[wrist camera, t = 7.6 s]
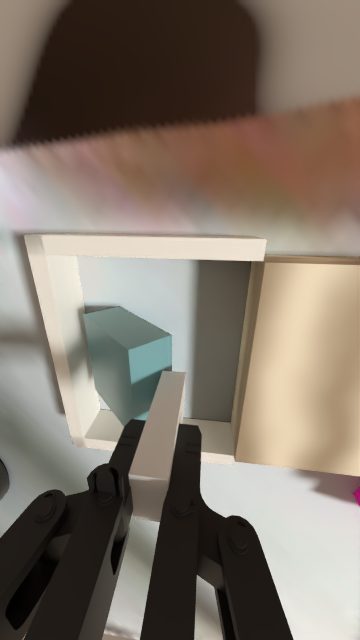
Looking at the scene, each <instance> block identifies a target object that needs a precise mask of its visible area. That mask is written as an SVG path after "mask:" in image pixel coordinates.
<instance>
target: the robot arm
mask: <svg viewBox="0 0 360 640" xmlns="http://www.w3.org/2000/svg"><path fill="white" fill-rule="evenodd" d="M185 383H186V373H185V372H173V371H162V374H161V377H160V380H159V383H158V386H157V389H156V392H155V395H154V398H153V401H152V404H151V407H150V410H149V413H148V416H147V420H138V419H131V420H130V421H129V422H128V423H127V424H126V425H125V426H124V428H123V431H122V433H121V435H120V438H119V440H118V442H117V445H116V447H115V449H114V452H113V454H112V456H111V459H110V461H109V463H107V464H103V465H100V466H98V467H96V468H95V469H94V470H93V471H92V472H91V473H90V474H89V476H88V477H87V481H88V486H89V490H87V491H85V492H82V493H77V494H73V495H68V496H65V494H64V493H63V492H62V491H60V490H55V489H54V490H49V491H46V492H44V493H43V494H41V495H39V496H38V497H37V498H36V499H35V500H34V501H33V502H32V503H31V504H30V505H29V506H28V507H27V508H26V509H25V511H24V512H23V513H22V514H21V515H20V516H19V517H18V519H17V520H16V521H15V522H14V523H13V524H12V525H11V527H10V528H9V529H8V530H7V531H6V532H5V533H4V535H3V536H2V537H1V538H0V640H22V639H23V637H24V636H25V634H26V636H25V638H24V640H102V637H103V633H104V629H105V625H106V621H107V618H108V614H109V610H110V606H111V602H112V598H113V595H114V591H115V587H116V583H117V579H118V575H119V572H120V568H121V564H122V560H123V556H124V552H125V549H126V545H127V541H128V537H129V523H130V519H131V515H132V512H133V518H138V519H144V520H150V521H157V522H160V525H159V531H158V537H157V543H156V549H155V555H154V561H153V566H152V572H151V578H150V584H149V590H148V596H147V601H146V607H145V613H144V619H143V625H142V631H141V637H140V640H194V629H195V604H196V579H197V575H198V576H200V577H201V578H202V579H204V580H205V581H207V582H208V583H210V584H211V585H212V586H214V589H215V595H216V600H217V606H218V612H219V618H220V623H221V629H222V635H223V640H293V637H292V634H291V631H290V628H289V625H288V622H287V619H286V617H285V614H284V611H283V608H282V605H281V602H280V599H279V596H278V593H277V590H276V587H275V584H274V582H273V579H272V576H271V573H270V570H269V567H268V564H267V561H266V558H265V555H264V552H263V550H262V547H261V544H260V541H259V538H258V535H257V533H256V531H255V530H254V528H253V526H252V525H251V524H250V523H249V522H248V521H247V520H246V519H244V518H242V517H240V516H233V515H232V516H229V517H227V518H225V517H223V516H221V515H219V514H218V513H216V512H214V511H213V510H211V509H210V508H209V507H208V506H207V505H206V504H205V502H204V500H203V499H202V496H201V493H200V469H201V443H202V434H201V431H200V429H199V426H198V425H189V424H182V423H183V416H184V409H185ZM8 489H9V477H8V474H7V472H6V469H5V468H4V466H3V464H2V463H1V462H0V500H1V499H2V498H3V496H4V495H5V494H6V493H7V491H8ZM26 632H27V633H26Z"/></svg>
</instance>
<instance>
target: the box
mask: <svg viewBox="0 0 360 640" xmlns="http://www.w3.org/2000/svg"><path fill="white" fill-rule="evenodd" d="M24 240H25V244H26V248H27V252H28V257H29V261H30V265H31V269H32V273H33V278H34V282H35V286H36V290H37V295H38V299H39V303H40V307H41V312H42V316H43V320H44V324H45V329H46V333H47V337H48V341H49V346H50V350H51V354H52V358H53V362H54V367H55V371H56V375H57V379H58V384H59V388H60V392H61V396H62V401H63V405H64V409H65V413H66V418H67V422H68V426H69V430H70V435H71V439H72V443H73V446H78V447H86V448H94V449H102V450H111V451H114V449H115V447H116V445H117V442H118V440H119V438H120V435H121V433H122V431H123V428H124V426H123V425H122V424H121V422H120V421H119V420H118V418H117V417H116V416H115V414H114V413H113V412H112V410H102V409H100V403H99V396H98V392H97V391H96V389H95V385H94V378H93V372H92V366H91V360H90V354H89V348H88V342H87V336H86V329H85V323H84V317H83V314H86V313H85V307H84V301H83V294H82V288H81V282H80V275H79V269H78V263H77V256H95V257H130V258H165V259H200V260H236V261H264V254H265V247H266V241H267V239H264V238H259V237H245V236H188V235H130V234H73V233H51V234H25V235H24ZM182 424H189V425H198V426H199V429H200V431H201V434H202V443H201V462H209V463H217V464H225V465H233V461H234V449H233V440H232V431H231V423H229V422H219V421H209V420H199V419H190V418H183V423H182Z"/></svg>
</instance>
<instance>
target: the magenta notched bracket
mask: <svg viewBox="0 0 360 640" xmlns="http://www.w3.org/2000/svg"><path fill="white" fill-rule="evenodd" d="M353 495H354V497H355V499H356V500H357V502H358V504H359V506H360V488H359V489H358V490H356V491H355V492H354V493H353Z"/></svg>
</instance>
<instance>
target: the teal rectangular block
mask: <svg viewBox="0 0 360 640" xmlns="http://www.w3.org/2000/svg"><path fill="white" fill-rule="evenodd" d="M83 317H84V323H85V329H86V336H87V342H88V348H89V354H90V360H91V366H92V372H93V378H94V385H95V389H96V391H97V392H98V393H99V395H100V396H101V397H102V399H103V400H104V401H105V402H106V404H107V405H108V406H109V408H110V409H111V410H112V412H113V413H114V414H115V416H116V417H117V418H118V420H119V421H120V422H121V424H122V425H123V426H125V425H126V424H127V423H128V422H129V421H130V420H131V419H138V420H147V416H148V413H149V410H150V407H151V404H152V401H153V398H154V395H155V392H156V389H157V386H158V383H159V380H160V377H161V374H162V371H172V335H171V334H169V333H167V332H165V331H164V330H162V329H160V328H158V327H156V326H155V325H153V324H151V323H149V322H147V321H145V320H144V319H142V318H140V317H138V316H136V315H134V314H133V313H131V312H129V311H127V310H125V309H123V308H122V307H120V306H119V307H114V308H110V309H105V310H101V311H96V312H92V313H87V314H83Z"/></svg>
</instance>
